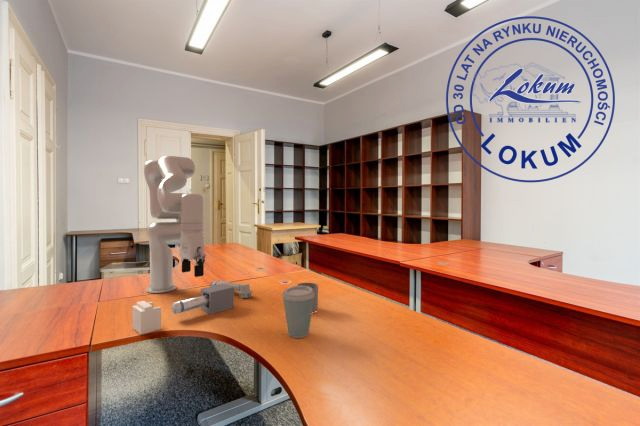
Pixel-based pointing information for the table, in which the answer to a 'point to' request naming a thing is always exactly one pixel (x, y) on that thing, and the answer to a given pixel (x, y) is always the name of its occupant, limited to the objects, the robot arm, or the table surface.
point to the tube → (190, 304)
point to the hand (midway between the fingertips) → (192, 274)
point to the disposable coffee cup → (298, 309)
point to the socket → (146, 317)
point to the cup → (315, 290)
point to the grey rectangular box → (218, 298)
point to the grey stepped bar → (236, 288)
